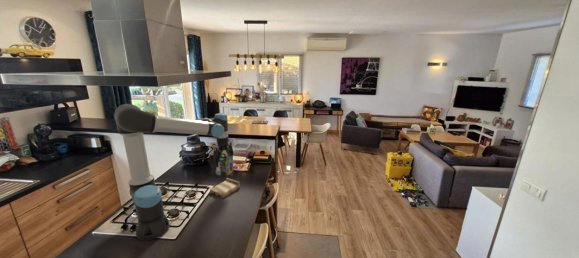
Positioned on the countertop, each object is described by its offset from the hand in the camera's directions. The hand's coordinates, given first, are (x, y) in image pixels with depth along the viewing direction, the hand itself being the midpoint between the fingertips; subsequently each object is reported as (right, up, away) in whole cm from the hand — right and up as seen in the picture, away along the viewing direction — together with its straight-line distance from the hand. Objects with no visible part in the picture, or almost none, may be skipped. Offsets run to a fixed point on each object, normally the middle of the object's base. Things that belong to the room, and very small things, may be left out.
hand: (224, 168), depth 155 cm
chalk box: (0, -4, +1) cm, 4 cm away
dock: (0, -16, +4) cm, 17 cm away
